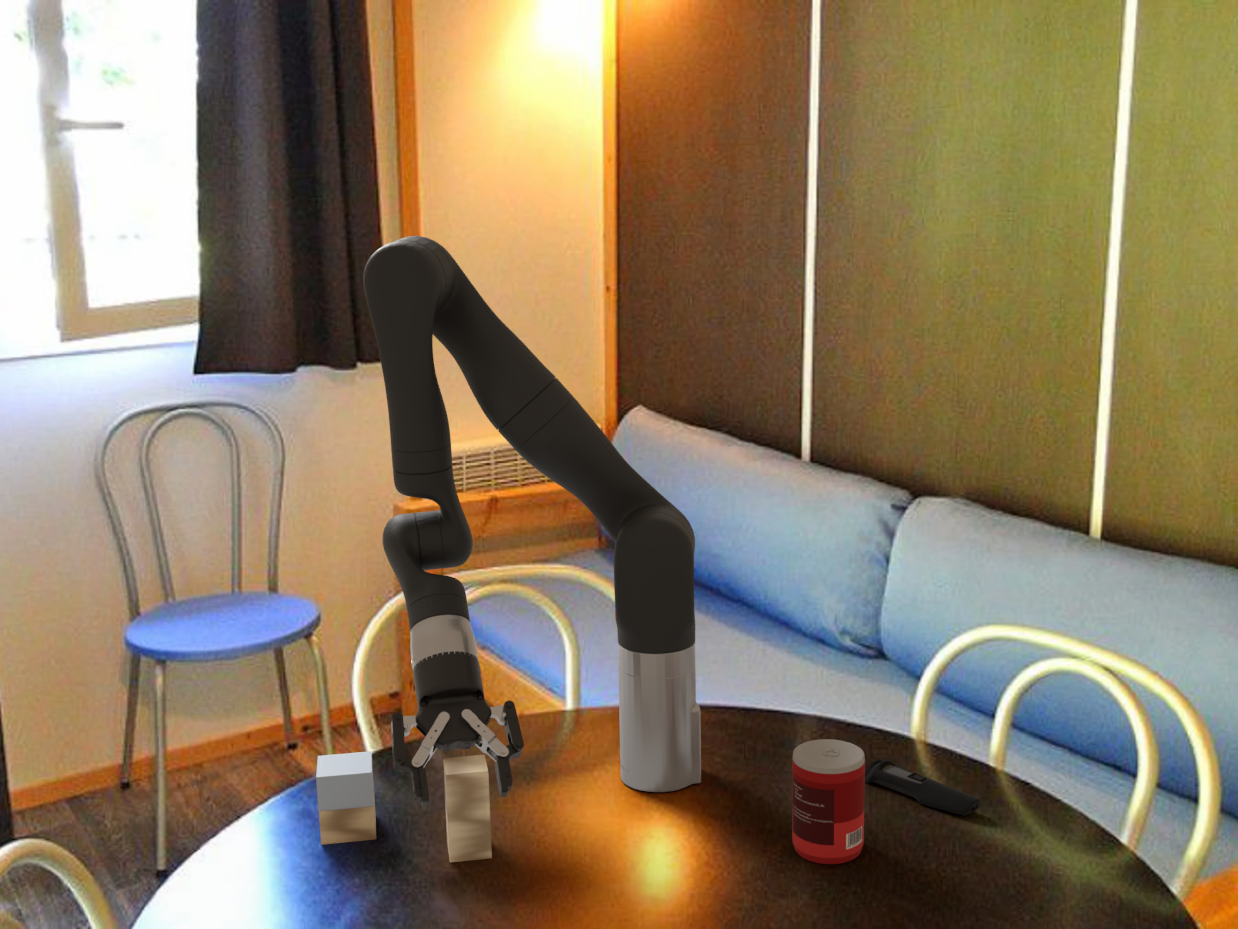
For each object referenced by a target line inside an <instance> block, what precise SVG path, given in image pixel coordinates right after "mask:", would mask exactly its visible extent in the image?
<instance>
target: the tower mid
mask: <svg viewBox="0 0 1238 929" xmlns="http://www.w3.org/2000/svg"><path fill="white" fill-rule="evenodd" d="M372 753H373V752H372V750H370V751H360V752H359V751H358V752H357V751H356V752H348V753H335V754H333V753H332V754H324V755H323V754H322V755H317V759H316V760H317V762H316V774H315V780H316V781H315V782H316V783H315V784H316V796H317V810H318V812H319V811H329V810H339V809H350V808H361V807H372V806H374V796H375V789H374V790H373V784H374V773H373V772H374V771H373V769H374V768H373V755H372Z"/></svg>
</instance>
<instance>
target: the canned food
mask: <svg viewBox="0 0 1238 929" xmlns="http://www.w3.org/2000/svg"><path fill="white" fill-rule="evenodd" d="M791 770H792V771H791V773H792V774H791V780H792V783H791V784H792V785H791V788H792V790H791V793H792V794H791V795H792V796H791V797H792V798H791V801H792V803H791V804H792V807H791V809H792V812H791V813H792V814H791V816H792V820H791V822H792V823H791V824H792V826H791V827H792V828H791V830H792V831H791V832H792V834H791V835H792V838H791V839H792V845H793V848H794V850H795V852H796V854H798V856H800V857H801V858H802V859H804V860H807V861H809V862H811V863H815V864H821V865H840V864H845V863H848V862H851V861H853V860H855V859H856V858H858V857H859V856H860V854H862V850H863V846H864V844H865V843H864V842H865V798H866V797H865V796H866V794H865V792H866V791H865V789H866V788H865V787H866V783H865V771H866V759H865V752H864V750H863V749H862V748H861V747H860V746H858V745H856V744H855V743H854V744H853V743H852V742H848V741H844V740H839V739H834V738H833V739H829V738H828V739H827V738H825V739H824V738H823V739H814V740H809V741H805V742H803V743H800V744H799V745H797V746H796V747H795V748H794V749H793V752H792V767H791Z"/></svg>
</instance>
